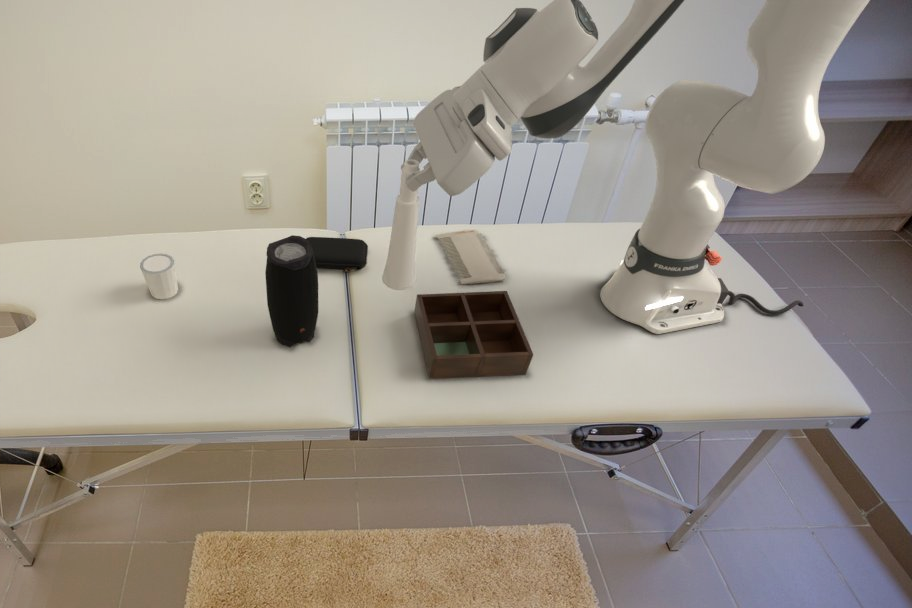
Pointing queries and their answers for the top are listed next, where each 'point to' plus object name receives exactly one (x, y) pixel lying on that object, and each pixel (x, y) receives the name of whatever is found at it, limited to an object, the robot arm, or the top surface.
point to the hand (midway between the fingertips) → (406, 179)
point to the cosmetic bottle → (403, 235)
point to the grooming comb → (471, 257)
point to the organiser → (471, 335)
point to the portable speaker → (292, 290)
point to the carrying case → (339, 253)
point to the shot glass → (160, 275)
